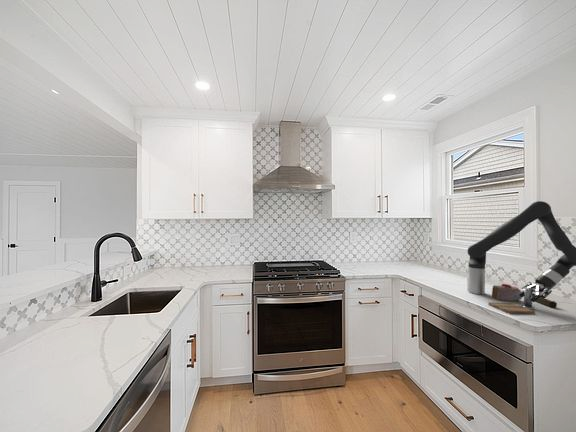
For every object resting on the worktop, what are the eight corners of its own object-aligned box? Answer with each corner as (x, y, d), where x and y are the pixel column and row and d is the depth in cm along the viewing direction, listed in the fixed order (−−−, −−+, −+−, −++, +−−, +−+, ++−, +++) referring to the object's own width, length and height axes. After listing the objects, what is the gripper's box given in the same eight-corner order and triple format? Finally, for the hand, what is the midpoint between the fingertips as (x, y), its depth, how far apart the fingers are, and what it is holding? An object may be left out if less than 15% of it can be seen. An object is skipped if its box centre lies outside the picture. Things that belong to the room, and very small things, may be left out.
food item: (513, 298, 166) (513, 282, 166) (523, 302, 158) (523, 286, 158) (490, 297, 167) (490, 282, 167) (499, 301, 159) (499, 285, 159)
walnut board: (488, 305, 152) (488, 302, 152) (511, 305, 152) (511, 302, 152) (509, 314, 138) (509, 311, 138) (534, 314, 138) (534, 311, 138)
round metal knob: (518, 306, 150) (518, 287, 150) (528, 306, 150) (528, 287, 150) (527, 309, 144) (528, 290, 144) (537, 309, 144) (537, 290, 144)
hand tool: (557, 308, 147) (557, 300, 147) (549, 308, 148) (549, 300, 148) (531, 298, 166) (531, 291, 166) (524, 298, 167) (524, 290, 167)
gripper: (533, 271, 153) (511, 290, 155) (554, 277, 139) (530, 297, 141) (543, 281, 152) (521, 299, 154) (565, 287, 138) (541, 307, 140)
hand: (525, 298), depth 147 cm, fingers open, 8 cm apart
